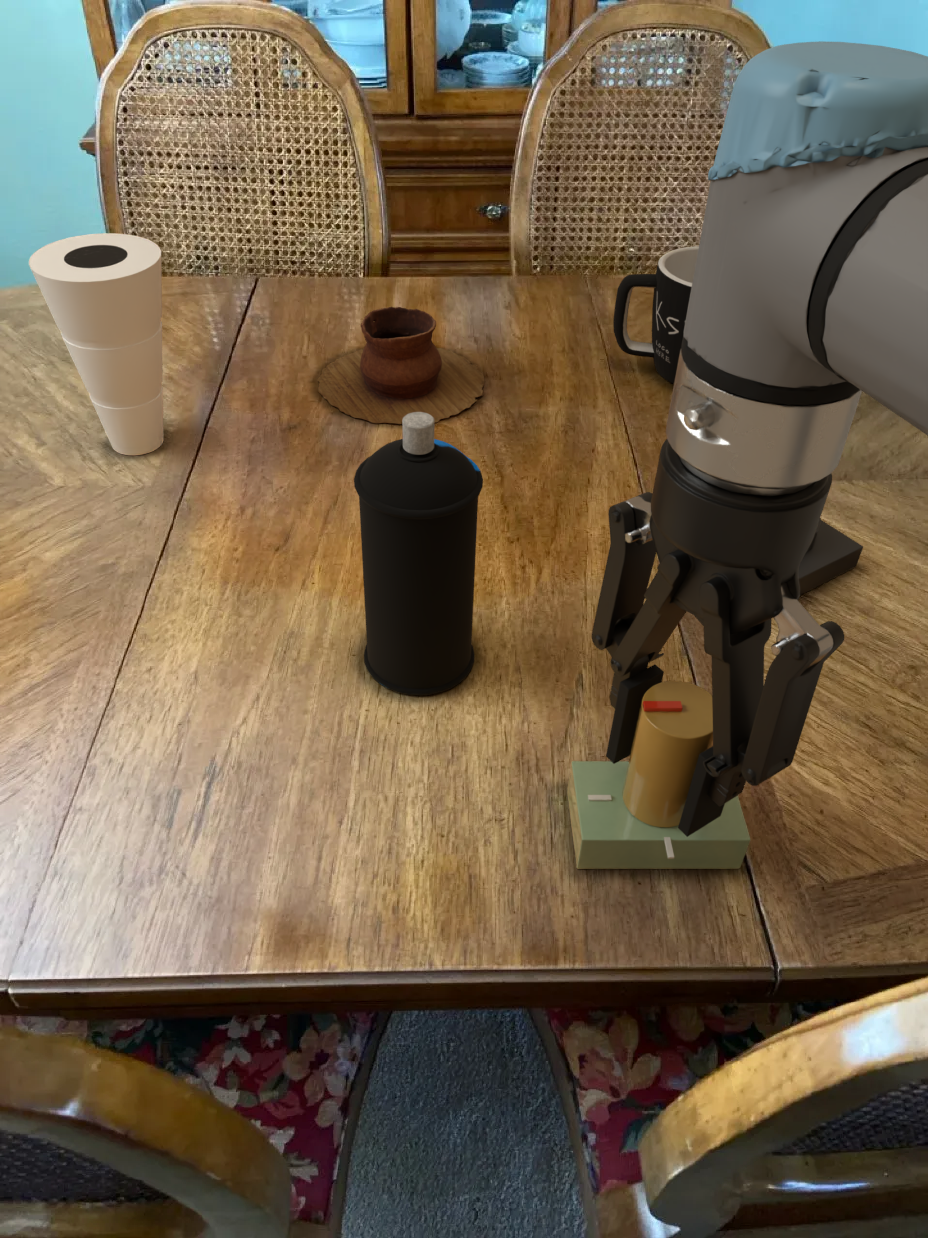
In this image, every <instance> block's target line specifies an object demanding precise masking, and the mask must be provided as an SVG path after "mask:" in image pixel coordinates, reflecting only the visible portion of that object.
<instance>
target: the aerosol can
mask: <svg viewBox="0 0 928 1238" xmlns="http://www.w3.org/2000/svg"><path fill="white" fill-rule="evenodd" d="M401 425H402V438H400V439H397V440H393V441H391V442H388V443H386V444H385V445H383V446H381V447H379V448H378V449H377V450H376V451H375V452H373V453H372V454H371V455H369V456H368V457H367V458H365V460H363V461H362V462H361V463H360V464H359V466H358V467H357V469H356V470H355V474H354V477H353V484H354V485H353V486H354V489H355V492H356V493H357V496H358V504H359V520H360V521H359V522H360V525H359V526H360V543H361V559H362V574H363V575H362V578H363V579H362V580H363V597H364V616H365V618H364V619H365V633H366V634H365V636H366V637H365V638H366V645H365V647H364V652H363V661H364V665H365V668H366V671H367V672H368V674H369V675H370V676H371V678H372V679H373V680H374V681H376V682H377V683H378V684H380V685H381V686H382V687H384V688H386V689H387V690H390V691H392V692H395V693H399V694H403V695H408V696H431V695H435V694H440V693H443V692H446V691H448V690H450V689H452V688H454V687H456V686H457V685H459V684H461V682H463V681H464V680H465V679H466V678H467V676H468V675H469V674H470V672H471V671H472V668H473V666H474V663H475V655H476V654H475V649H474V646H473V643H472V641H473V620H474V600H475V599H474V597H475V575H476V553H477V551H476V550H477V534H478V533H477V532H478V531H477V530H478V528H477V527H478V510H479V496H480V494H481V492H482V490H483V487H484V478H483V475H482V474H483V473H482V471H481V469H480V468H479V466H478V464H476V463H475V462H474V461H473V460H472V458H469V457H468V456H466V454H465V453H463V452H462V451H461V450H459V449H458V448H457V447H456V446H454V445H452V444H450V443H449V442H446V441H443V440H441V439H436V438H435V423H434V418H433V417H432V416H431V415H430V414H427V413H424V412H412V413H409V414H407V415H406V416H404V417H403V420H402V424H401Z"/></svg>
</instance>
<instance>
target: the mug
mask: <svg viewBox="0 0 928 1238" xmlns="http://www.w3.org/2000/svg"><path fill="white" fill-rule="evenodd" d="M698 249H699V245H697V246H696V245H695V246H684V247H680V248H676V249H673V250H670V251H668V252H666V253H664V254H663V255H661V256H660V258H659V259H658V261H657V265H656V271H655V273H635V274H634V273H632V274H627V275H626V276H624V278H623V279H622V280H621V281H620V283H619V285H618V287H617V290H616V297H615V301H614V309H613V319H612V321H613V323H612V324H613V325H612V327H613V333H614V337H615V341H616V343H617V345H618V347H619V348H620V350H621V351H623V352H624V353H625V354H628V355H631V356H635V357H642V358H653V364H654V368H655V370H656V373H657V374H658V375H659V376H660V377H661V378H663V379H664V380H666V381H667V382H669V383H671V384H673V385H674V382H675V377H676V371H677V366H678V361H679V355H680V350H681V346H682V340H683V335H684V327H685V321H686V316H687V310H688V305H689V299H690V293H691V288H692V282H693V277H694V271H695V266H696V260H697V254H698ZM634 288H647V289H653V296H652V307H651V308H652V309H651V310H652V312H651V342H644V341H636V340H632V339H631V338H630V336H629V333H628V314H629V308H630V302H631V297H632V293H633V290H634Z"/></svg>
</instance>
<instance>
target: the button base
mask: <svg viewBox="0 0 928 1238" xmlns="http://www.w3.org/2000/svg"><path fill="white" fill-rule="evenodd" d="M863 549H864V546H863V545H862V544H861V543H859V542H857V541H855V540H853V539H852V538H851V537H849V536H848V535H846V534H844V533H843V532H842V531H839V529H836V528H835V527H834V526H832V525H830V524H828V523H827V522H826V521H824V520H822V519H821V518H820V520H819V523H818V526H817V529H816V532H815V535H814V538H813V540H812V542H811V544H810V546H809V548H808V550H807V552H806V553H805V555H804V557H803V559H802V561H801V563H800V565H799V570H798V577H799V584H800V596H802V595H803V594H805V593H808V592H809V591H812V590H813V589H815V588H817V587H819V586H821V585H823V584H825V583H828V582H829V581H831V580H833V579H836V578H837V577H839V576H841V575H843V574H844V573H847V572H849V571H850V570H853V569H855V568H856V567H857V565H858V563H859V560H860V557H861V554H862V552H863Z"/></svg>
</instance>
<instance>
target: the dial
mask: <svg viewBox="0 0 928 1238" xmlns="http://www.w3.org/2000/svg"><path fill="white" fill-rule="evenodd" d="M712 746H713V710H712V693H710V692H709V691H707V690H706V689H705V688H703V687H701V686H699V685H697V684H694V683H691V682H688V681H683V680H665V681H662V682H661V683H658V684H656V685H654V686H652V687H651V688H650V689H649V690H648V691H647V692H646V693H645V694H644V696H643V699H642V703H641V707H640V712H639V717H638V721H637V726H636V730H635V735H634V740H633V744H632V749H631V753H630V755H629V758H628V761H629V763H628V767H627V772H626V776H625V781H624V786H623V791H622V796H623V801H624V803H625V806H626V807H627V809H628V810H629V811H630V813H631V814H632V815H633V816H634V817H636V818H637V819H638V820H640V821H642V822H644V823H646V824H648V825H651V826H655V827H663V828H666V827H674V826H677V825H679V823H680V819H681V816H682V812H683V809H684V805H685V802H686V799H687V795H688V792H689V788H690V785H691V781H692V778H693V774H694V771H695V768H696V764H697V761H698V757H699V754H700V753H702V752H704V751H706V750H707V749H709V748H711V747H712Z"/></svg>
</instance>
